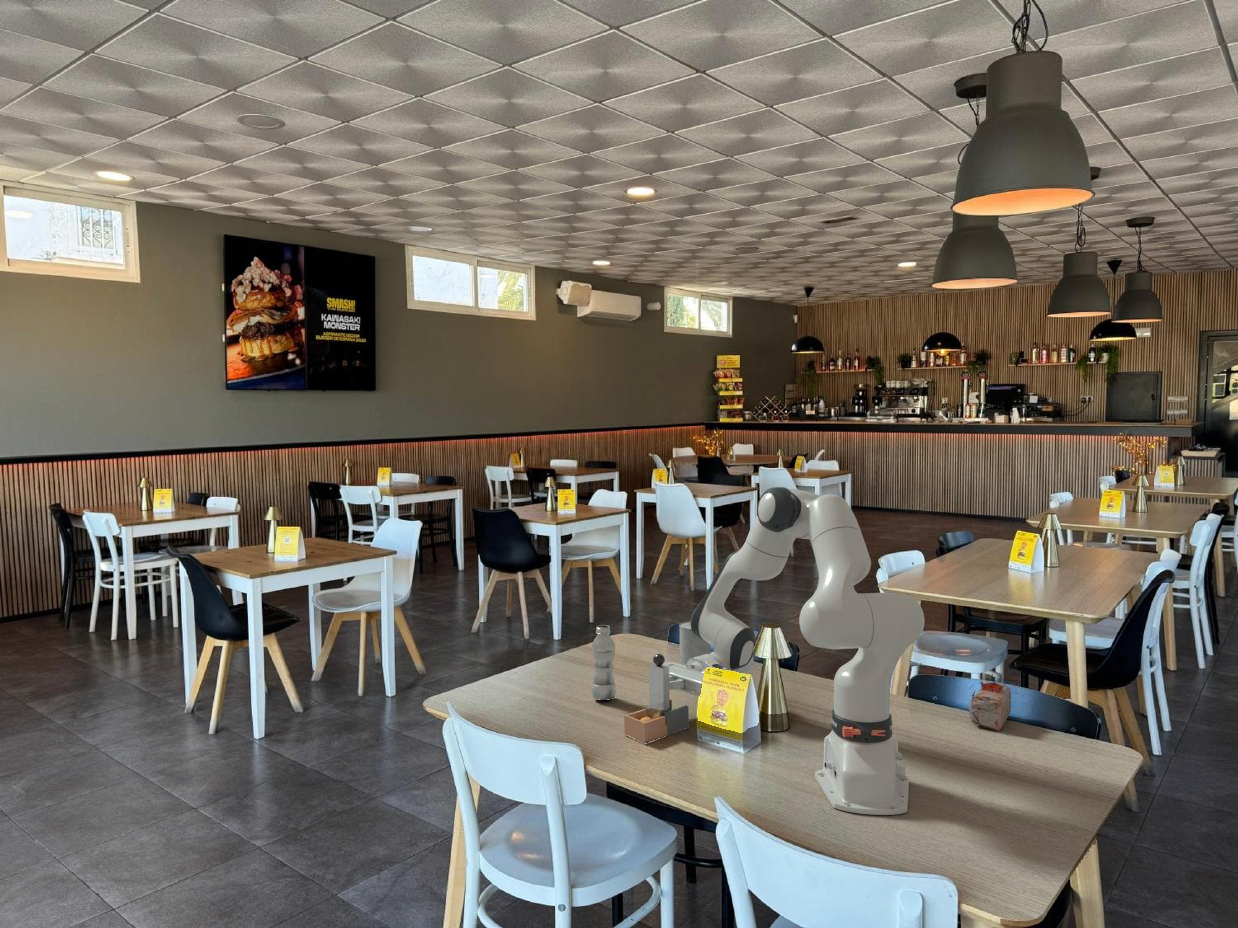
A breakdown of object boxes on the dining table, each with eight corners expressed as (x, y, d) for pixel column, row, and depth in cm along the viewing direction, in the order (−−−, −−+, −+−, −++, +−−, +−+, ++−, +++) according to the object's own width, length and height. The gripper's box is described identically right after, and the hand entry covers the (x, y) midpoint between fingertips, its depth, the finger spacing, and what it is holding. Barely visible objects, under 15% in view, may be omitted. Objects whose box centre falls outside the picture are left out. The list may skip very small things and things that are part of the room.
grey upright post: (656, 714, 203) (655, 650, 202) (670, 719, 199) (670, 654, 198) (646, 717, 201) (645, 653, 200) (660, 723, 197) (659, 657, 196)
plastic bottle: (604, 694, 228) (603, 622, 227) (621, 699, 223) (620, 626, 222) (586, 699, 224) (585, 626, 222) (604, 705, 219) (602, 631, 218)
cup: (646, 728, 202) (646, 708, 202) (667, 736, 197) (667, 715, 197) (624, 735, 198) (624, 715, 197) (644, 744, 192) (644, 723, 192)
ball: (657, 720, 196) (652, 737, 195) (656, 719, 200) (651, 735, 199) (641, 715, 196) (636, 732, 195) (640, 714, 200) (635, 730, 199)
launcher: (669, 720, 207) (669, 699, 207) (688, 728, 202) (688, 706, 202) (647, 728, 202) (647, 706, 202) (666, 736, 197) (666, 713, 197)
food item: (1003, 734, 196) (1003, 693, 195) (967, 727, 200) (967, 687, 200) (1013, 716, 207) (1013, 677, 206) (978, 710, 211) (979, 672, 211)
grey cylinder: (678, 668, 250) (677, 628, 250) (681, 659, 260) (680, 620, 259) (709, 669, 249) (709, 629, 248) (711, 660, 258) (711, 621, 257)
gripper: (673, 652, 217) (633, 663, 208) (731, 670, 201) (691, 682, 193) (673, 676, 217) (634, 688, 208) (732, 695, 202) (692, 709, 193)
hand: (662, 685), depth 200 cm, fingers closed, pressing on grey upright post
